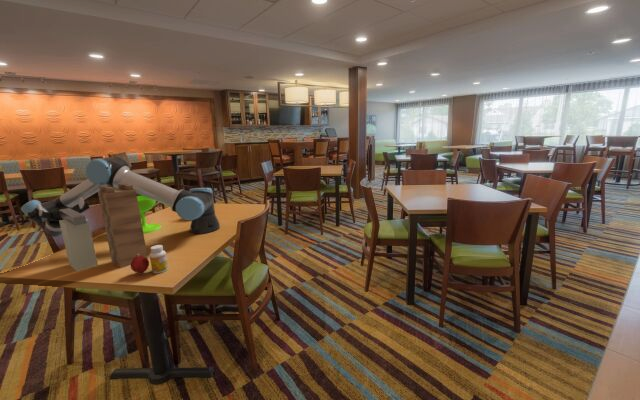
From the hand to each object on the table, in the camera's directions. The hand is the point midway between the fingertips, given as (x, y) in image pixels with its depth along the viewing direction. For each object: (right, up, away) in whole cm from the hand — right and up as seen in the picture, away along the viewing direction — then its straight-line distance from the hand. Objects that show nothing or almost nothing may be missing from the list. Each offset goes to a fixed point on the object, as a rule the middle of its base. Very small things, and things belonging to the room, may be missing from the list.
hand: (62, 203), depth 122 cm
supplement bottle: (+46, -26, -10) cm, 54 cm away
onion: (+40, -27, -12) cm, 50 cm away
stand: (+28, -24, +1) cm, 37 cm away
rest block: (+11, -25, -2) cm, 27 cm away
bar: (+9, -6, -6) cm, 13 cm away
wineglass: (+9, -15, +42) cm, 46 cm away
